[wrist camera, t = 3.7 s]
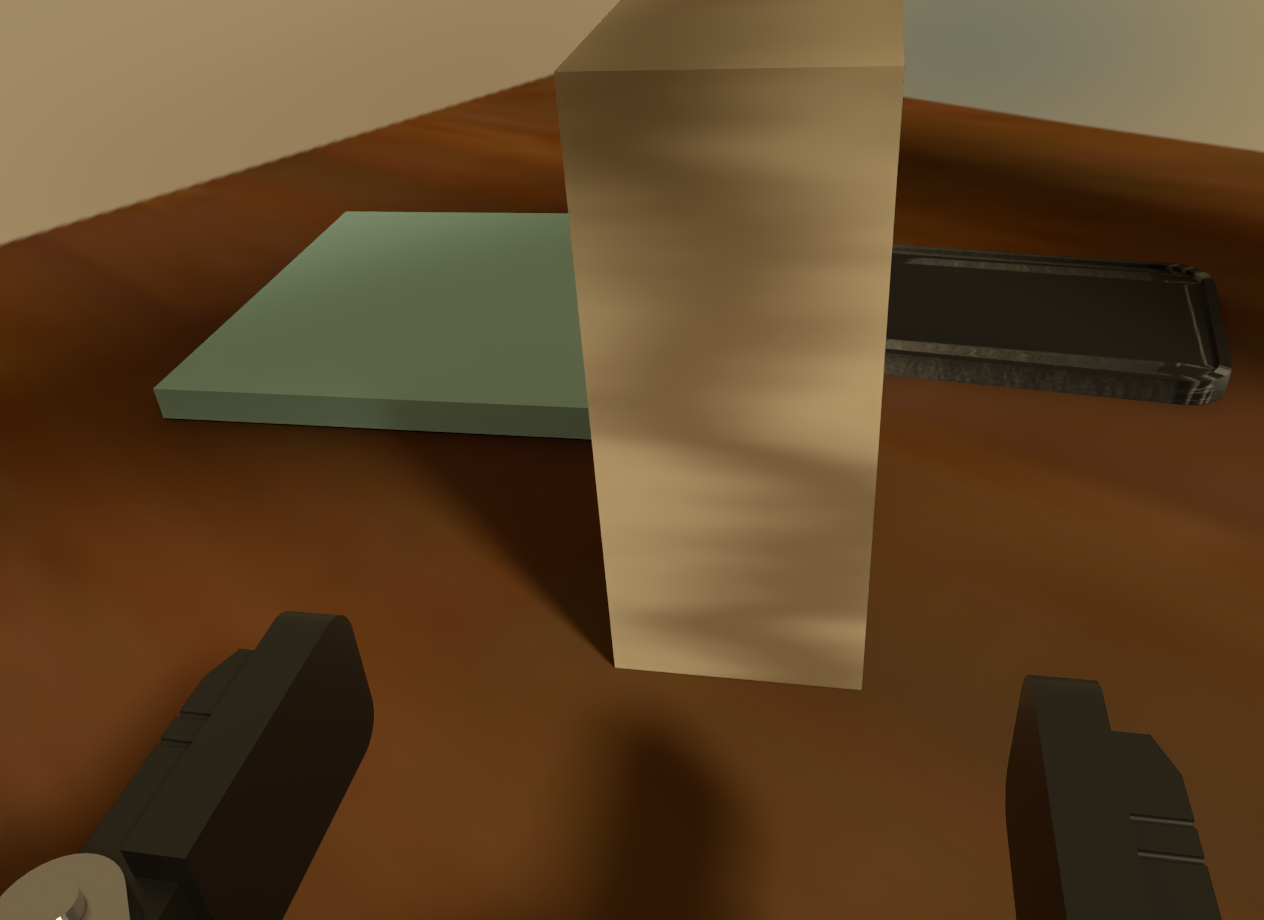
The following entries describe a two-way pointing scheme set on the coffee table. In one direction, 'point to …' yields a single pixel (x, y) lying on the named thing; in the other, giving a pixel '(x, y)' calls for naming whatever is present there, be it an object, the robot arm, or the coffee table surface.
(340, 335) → the green square tile
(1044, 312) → the phone
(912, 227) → the coffee table surface
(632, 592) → the birch block
